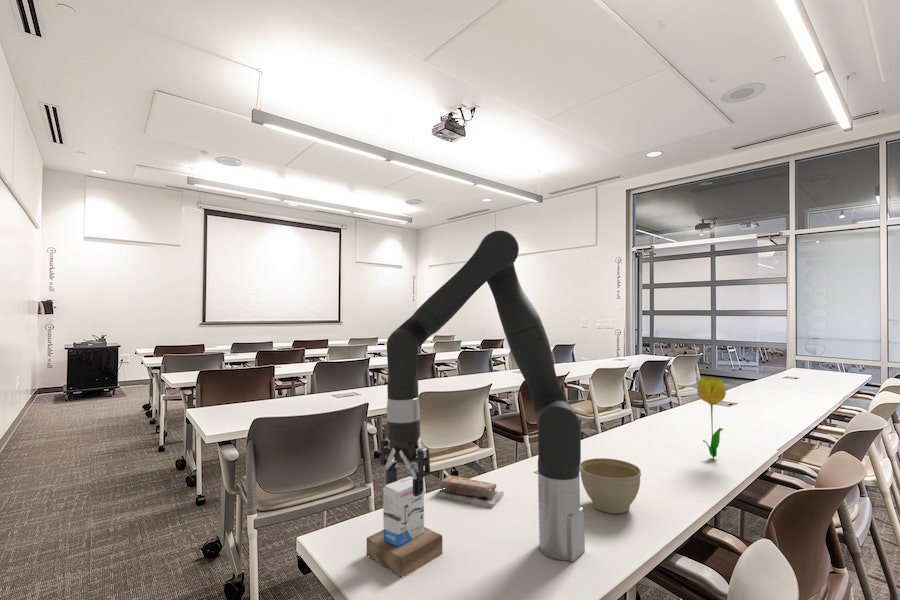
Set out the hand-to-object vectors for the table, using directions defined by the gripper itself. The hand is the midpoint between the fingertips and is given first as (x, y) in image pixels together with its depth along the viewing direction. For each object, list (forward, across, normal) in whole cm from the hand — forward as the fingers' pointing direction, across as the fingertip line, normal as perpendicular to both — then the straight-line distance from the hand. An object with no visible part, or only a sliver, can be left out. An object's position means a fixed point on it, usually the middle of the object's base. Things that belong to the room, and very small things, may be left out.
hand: (404, 490), depth 95 cm
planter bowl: (+15, -25, -54) cm, 61 cm away
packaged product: (+15, +9, -34) cm, 38 cm away
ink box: (+10, 0, 0) cm, 11 cm away
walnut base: (+14, 0, 0) cm, 14 cm away
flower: (+16, -38, -118) cm, 125 cm away
